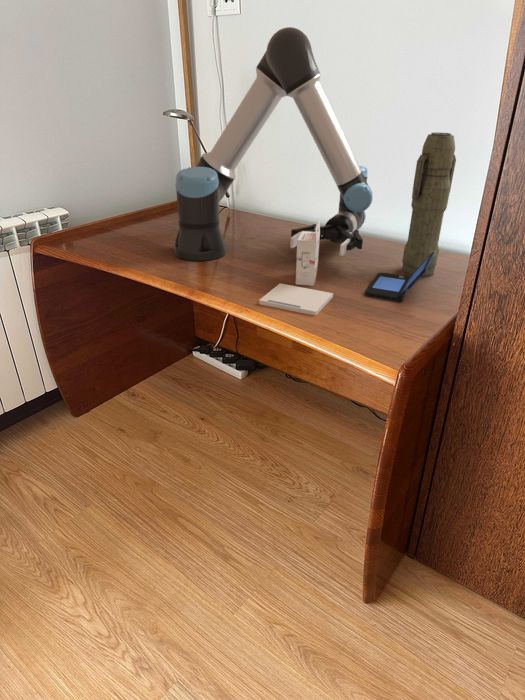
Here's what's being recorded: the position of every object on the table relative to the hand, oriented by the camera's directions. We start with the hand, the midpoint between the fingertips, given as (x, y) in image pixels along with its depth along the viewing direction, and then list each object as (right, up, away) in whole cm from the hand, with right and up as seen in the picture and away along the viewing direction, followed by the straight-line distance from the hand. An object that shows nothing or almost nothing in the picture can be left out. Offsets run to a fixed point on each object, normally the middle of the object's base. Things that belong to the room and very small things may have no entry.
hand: (316, 246), depth 130 cm
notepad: (-6, -15, -11) cm, 20 cm away
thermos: (+29, -5, +8) cm, 30 cm away
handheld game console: (+20, -12, -4) cm, 24 cm away
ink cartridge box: (-3, -9, +1) cm, 9 cm away
